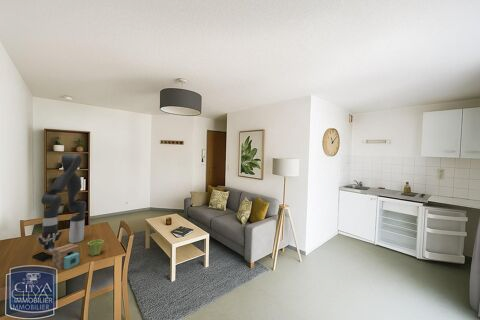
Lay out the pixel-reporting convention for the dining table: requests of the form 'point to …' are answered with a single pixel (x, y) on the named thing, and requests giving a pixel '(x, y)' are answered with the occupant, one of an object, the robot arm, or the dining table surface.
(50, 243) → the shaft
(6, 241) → the dining table surface
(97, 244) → the plant pot
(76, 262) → the teal toy camera
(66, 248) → the bearing block
